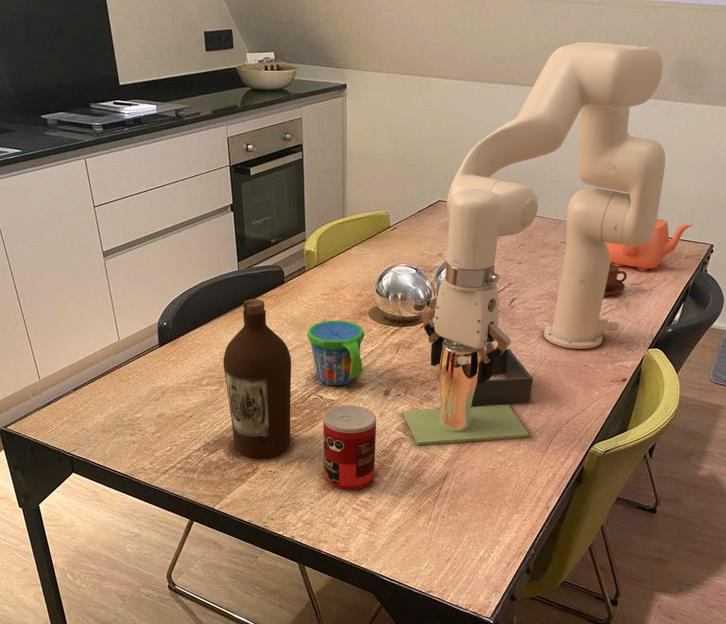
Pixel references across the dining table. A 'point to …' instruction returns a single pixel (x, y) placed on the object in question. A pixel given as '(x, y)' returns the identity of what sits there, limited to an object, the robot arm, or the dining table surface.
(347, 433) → the canned food
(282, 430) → the olive oil
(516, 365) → the basin
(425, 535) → the dining table surface
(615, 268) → the cup and saucer
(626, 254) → the teapot
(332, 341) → the snack cup
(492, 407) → the drying mat
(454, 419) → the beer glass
